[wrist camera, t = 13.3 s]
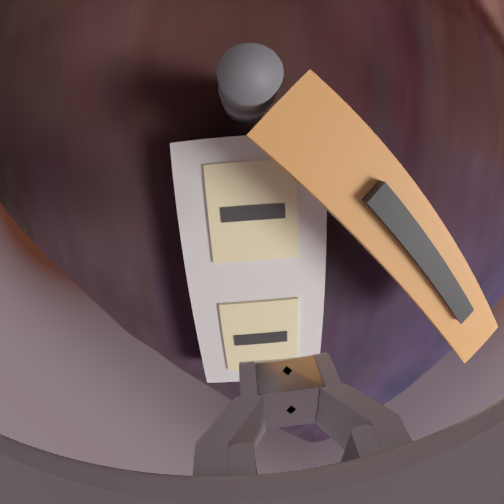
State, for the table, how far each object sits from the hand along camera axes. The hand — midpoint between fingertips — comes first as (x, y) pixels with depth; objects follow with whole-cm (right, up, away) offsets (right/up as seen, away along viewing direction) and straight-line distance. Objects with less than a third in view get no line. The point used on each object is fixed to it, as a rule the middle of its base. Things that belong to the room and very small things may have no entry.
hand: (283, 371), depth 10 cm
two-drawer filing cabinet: (-1, +5, +19) cm, 20 cm away
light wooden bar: (+10, +5, +11) cm, 15 cm away
